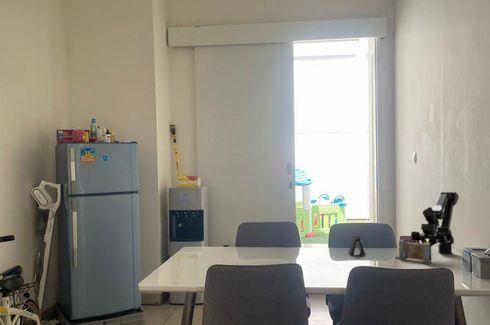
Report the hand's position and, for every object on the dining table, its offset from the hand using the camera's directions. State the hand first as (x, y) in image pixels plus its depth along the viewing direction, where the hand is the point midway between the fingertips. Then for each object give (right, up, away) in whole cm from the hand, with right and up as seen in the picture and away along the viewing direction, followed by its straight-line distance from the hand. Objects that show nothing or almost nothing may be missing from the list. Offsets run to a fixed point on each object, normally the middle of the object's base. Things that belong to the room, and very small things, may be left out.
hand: (424, 249), depth 245 cm
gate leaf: (-3, -6, +1) cm, 7 cm away
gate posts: (-6, -7, +1) cm, 9 cm away
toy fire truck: (+2, -7, +26) cm, 27 cm away
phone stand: (-33, -8, +21) cm, 40 cm away
